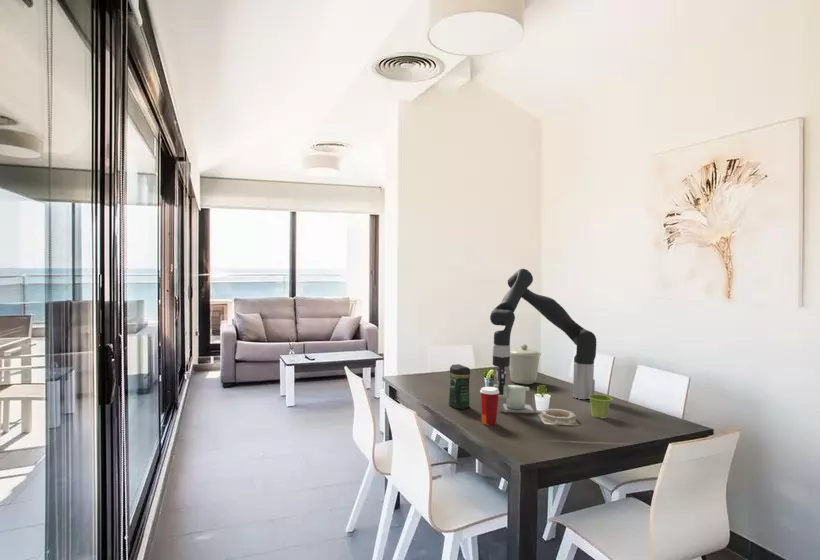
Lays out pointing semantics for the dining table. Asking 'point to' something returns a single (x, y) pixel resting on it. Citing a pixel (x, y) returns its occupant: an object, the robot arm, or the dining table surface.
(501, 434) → the dining table surface
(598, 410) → the plant pot
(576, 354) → the robot arm
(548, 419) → the holder
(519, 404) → the pitcher
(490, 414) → the paper cup
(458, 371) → the coffee jar
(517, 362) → the canister
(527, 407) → the coaster
